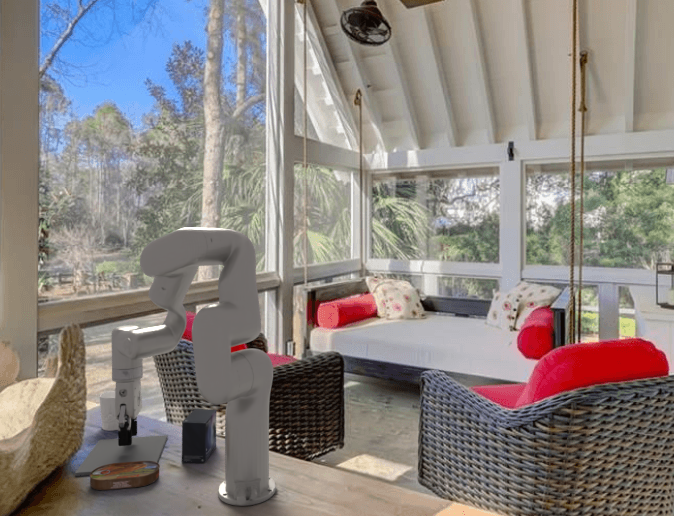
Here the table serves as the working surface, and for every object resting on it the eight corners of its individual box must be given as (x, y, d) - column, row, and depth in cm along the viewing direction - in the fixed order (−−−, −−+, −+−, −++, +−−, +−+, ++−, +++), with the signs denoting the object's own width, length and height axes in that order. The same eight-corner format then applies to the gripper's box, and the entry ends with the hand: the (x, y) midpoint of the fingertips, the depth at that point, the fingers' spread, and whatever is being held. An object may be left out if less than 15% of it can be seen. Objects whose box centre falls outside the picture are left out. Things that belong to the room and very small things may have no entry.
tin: (162, 459, 119) (156, 472, 111) (162, 472, 119) (156, 486, 111) (96, 464, 116) (84, 478, 108) (96, 477, 116) (84, 492, 108)
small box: (206, 463, 123) (206, 422, 122) (180, 463, 123) (180, 422, 122) (217, 446, 133) (217, 408, 133) (194, 446, 133) (193, 408, 133)
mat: (155, 469, 119) (155, 466, 119) (75, 476, 116) (75, 472, 116) (167, 438, 139) (167, 435, 139) (99, 442, 135) (99, 439, 135)
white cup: (111, 433, 142) (110, 399, 142) (94, 428, 146) (93, 395, 146) (134, 425, 149) (134, 392, 149) (117, 420, 153) (117, 388, 153)
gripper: (135, 381, 122) (136, 452, 122) (148, 364, 139) (149, 427, 139) (103, 382, 121) (103, 455, 121) (120, 365, 137) (121, 429, 138)
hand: (128, 439), depth 130 cm, fingers open, 5 cm apart
